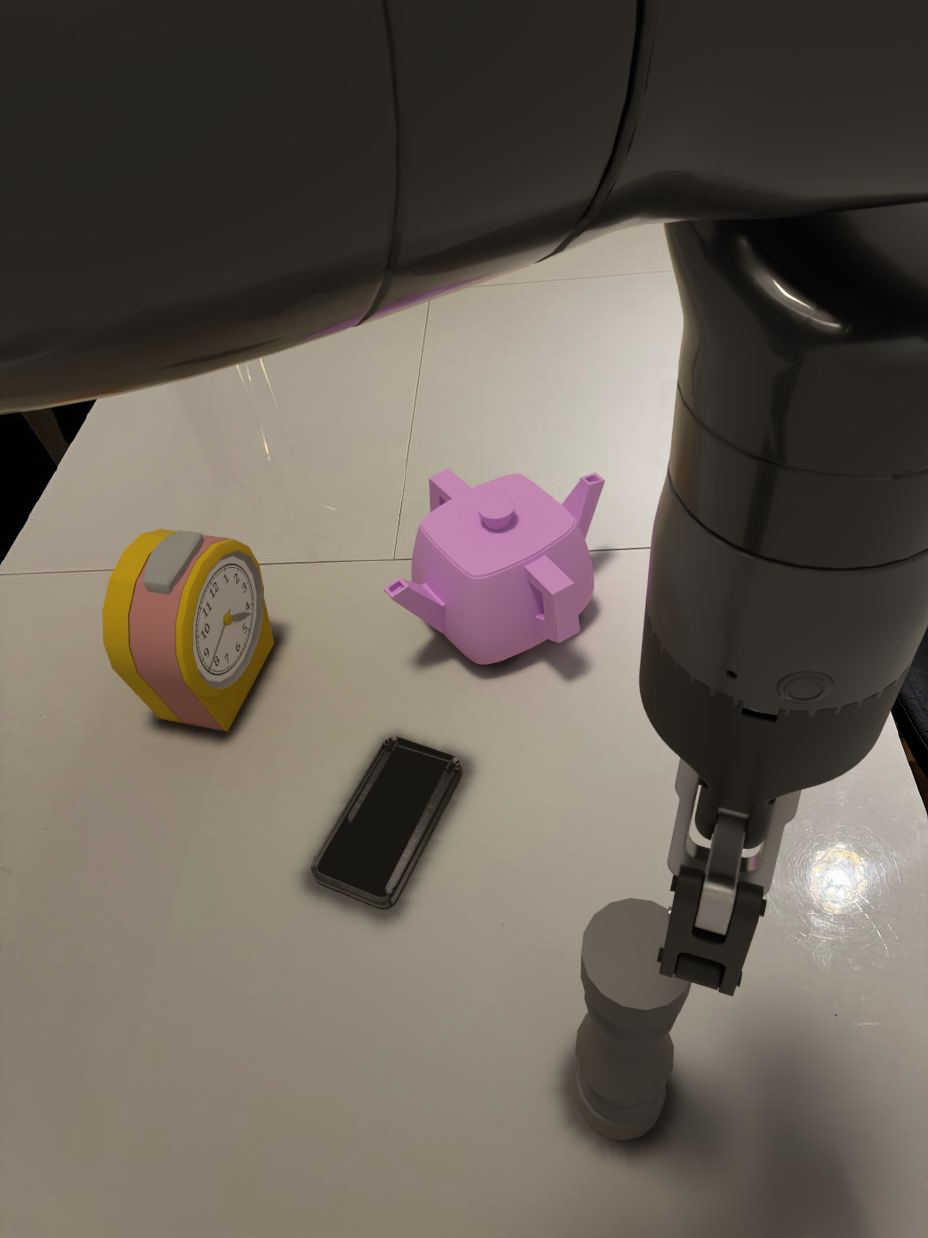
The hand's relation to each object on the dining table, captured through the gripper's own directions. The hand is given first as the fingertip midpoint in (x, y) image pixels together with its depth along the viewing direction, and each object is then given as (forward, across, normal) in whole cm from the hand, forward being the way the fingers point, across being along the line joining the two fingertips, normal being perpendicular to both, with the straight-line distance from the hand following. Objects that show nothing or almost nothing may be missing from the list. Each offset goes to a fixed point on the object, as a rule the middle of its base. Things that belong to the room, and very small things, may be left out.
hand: (714, 863), depth 38 cm
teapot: (+35, -41, -24) cm, 59 cm away
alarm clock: (+35, -24, -49) cm, 65 cm away
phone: (+35, -15, -26) cm, 46 cm away
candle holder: (+35, 0, -3) cm, 35 cm away
